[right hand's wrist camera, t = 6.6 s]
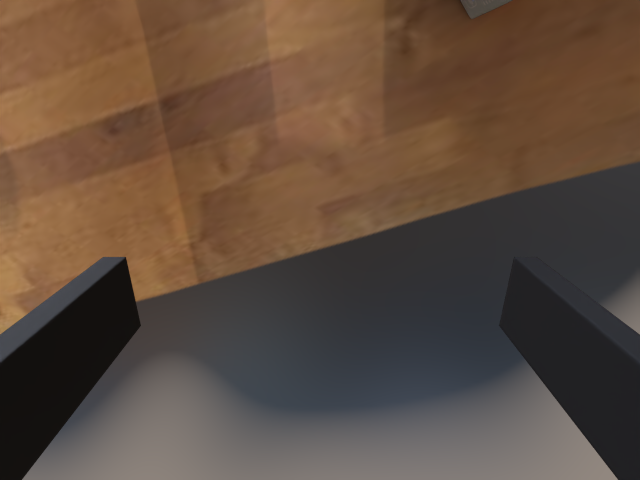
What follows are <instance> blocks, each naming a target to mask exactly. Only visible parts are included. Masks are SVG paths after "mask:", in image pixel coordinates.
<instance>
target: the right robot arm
mask: <svg viewBox="0 0 640 480" xmlns="http://www.w3.org/2000/svg"><path fill="white" fill-rule="evenodd" d="M140 326H141V324H140V320H139V315H138V311H137V306H136V301H135V297H134V292H133V288H132V283H131V278H130V274H129V269H128V265H127V260H126V257H103V258H101V259H100V260H99V261H97V262H96V263H95V264H93V265H92V266H91V267H89V268H88V269H87V270H85V271H84V272H83V273H81V274H80V275H79V276H77V277H76V278H75V279H73V280H72V281H71V282H70V283H68V284H67V285H66V286H64V287H63V288H62V289H60V290H59V291H58V292H56V293H55V294H54V295H52V296H51V297H50V298H48V299H47V300H46V301H44V302H43V303H42V304H40V305H39V306H38V307H36V308H35V309H34V310H32V311H31V312H30V313H28V314H27V315H26V316H24V317H23V318H22V319H20V320H19V321H18V322H16V323H15V324H14V325H12V326H11V327H10V328H8V329H7V330H6V331H4V332H3V333H2V334H1V335H0V480H22V479H23V477H24V476H25V475H26V474H27V472H28V471H29V470H30V468H31V467H32V466H33V465H34V463H35V462H36V461H37V459H38V458H39V457H40V455H41V454H42V453H43V452H44V450H45V449H46V448H47V446H48V445H49V444H50V443H51V441H52V440H53V439H54V437H55V436H56V435H57V433H58V432H59V431H60V430H61V428H62V427H63V426H64V424H65V423H66V422H67V421H68V419H69V418H70V417H71V415H72V414H73V413H74V411H75V410H76V409H77V408H78V406H79V405H80V404H81V402H82V401H83V400H84V399H85V397H86V396H87V395H88V393H89V392H90V391H91V389H92V388H93V387H94V385H95V384H96V383H97V382H98V380H99V379H100V378H101V377H102V375H103V374H104V373H105V371H106V370H107V369H108V367H109V366H110V365H111V364H112V362H113V361H114V360H115V358H116V357H117V356H118V355H119V353H120V352H121V351H122V349H123V348H124V347H125V345H126V344H127V343H128V342H129V340H130V339H131V338H132V336H133V335H134V334H135V333H136V331H137V330H138V329H139V327H140ZM499 326H500V327H501V329H502V330H503V331H504V332H505V334H506V335H507V336H508V338H509V339H510V340H511V342H512V343H513V344H514V345H515V347H516V348H517V349H518V351H519V352H520V353H521V354H522V356H523V357H524V358H525V360H526V361H527V362H528V364H529V365H530V366H531V367H532V369H533V370H534V371H535V373H536V374H537V375H538V376H539V378H540V379H541V380H542V382H543V383H544V384H545V386H546V387H547V388H548V389H549V391H550V392H551V393H552V395H553V396H554V397H555V399H556V400H557V401H558V402H559V404H560V405H561V406H562V408H563V409H564V410H565V411H566V413H567V414H568V415H569V417H570V418H571V419H572V421H573V422H574V423H575V424H576V426H577V427H578V428H579V429H580V431H581V432H582V433H583V435H584V436H585V437H586V439H587V440H588V441H589V442H590V444H591V445H592V446H593V448H594V449H595V450H596V452H597V453H598V454H599V455H600V457H601V458H602V459H603V461H604V462H605V463H606V465H607V466H608V467H609V468H610V470H611V471H612V472H613V474H614V475H615V476H616V477H617V479H618V480H640V335H639V334H638V333H637V332H636V331H634V330H633V329H631V328H630V327H629V326H627V325H626V324H625V323H623V322H622V321H621V320H620V319H618V318H617V317H616V316H614V315H613V314H612V313H610V312H609V311H608V310H606V309H605V308H604V307H602V306H601V305H600V304H598V303H597V302H596V301H594V300H593V299H592V298H590V297H589V296H588V295H586V294H585V293H584V292H582V291H581V290H580V289H578V288H577V287H576V286H574V285H573V284H572V283H570V282H569V281H568V280H566V279H565V278H564V277H562V276H561V275H560V274H559V273H557V272H556V271H555V270H553V269H552V268H551V267H549V266H548V265H547V264H545V263H544V262H543V261H541V260H540V259H539V258H537V257H514V260H513V265H512V269H511V274H510V279H509V283H508V288H507V292H506V297H505V301H504V306H503V311H502V315H501V320H500V325H499Z"/></svg>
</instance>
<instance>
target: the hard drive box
mask: <svg viewBox="0 0 640 480" xmlns="http://www.w3.org/2000/svg"><path fill="white" fill-rule="evenodd" d="M460 1H461V3H462V4H463V6H464V8H465V10H466V11H467V13H468V15H469V16H470V18H471V19H474V18H476V17H478V16H480V15H482V14H485V13H487V12H489V11H491V10H493V9H495V8H497V7H500V6H502V5H504V4H506V3H508V2H510V1H512V0H460Z"/></svg>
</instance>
